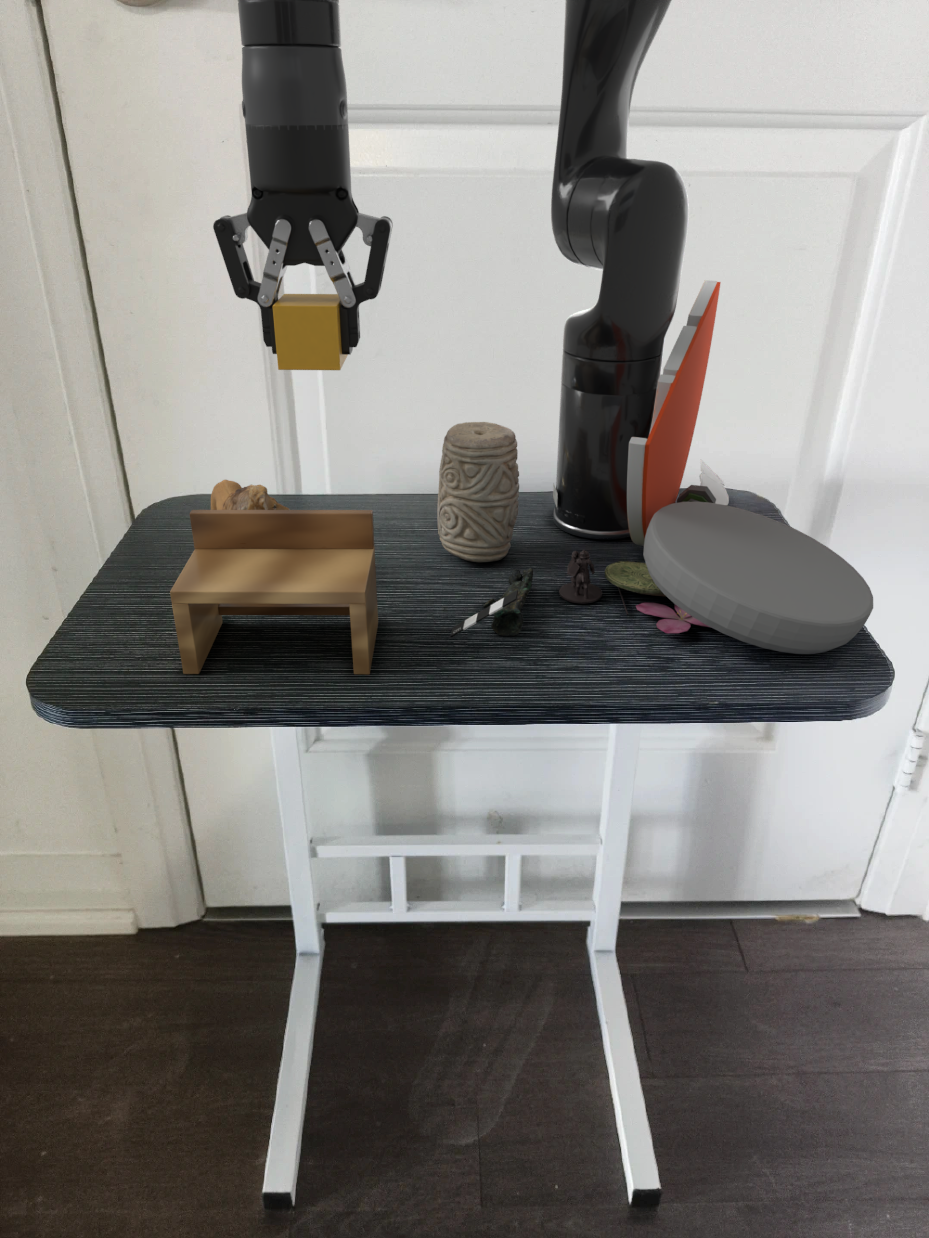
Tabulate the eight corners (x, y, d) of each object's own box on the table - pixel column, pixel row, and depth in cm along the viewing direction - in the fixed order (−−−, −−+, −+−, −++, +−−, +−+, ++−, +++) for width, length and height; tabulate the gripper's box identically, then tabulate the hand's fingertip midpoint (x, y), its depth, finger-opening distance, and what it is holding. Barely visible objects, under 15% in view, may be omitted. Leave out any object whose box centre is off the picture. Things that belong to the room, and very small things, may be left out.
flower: (651, 596, 84) (652, 586, 84) (742, 615, 81) (744, 605, 80) (618, 629, 78) (618, 619, 78) (716, 651, 74) (717, 640, 74)
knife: (725, 495, 108) (686, 472, 108) (746, 464, 106) (706, 441, 106) (698, 576, 89) (651, 549, 90) (723, 541, 87) (674, 513, 87)
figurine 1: (450, 636, 75) (470, 559, 85) (481, 672, 76) (498, 592, 86) (515, 598, 72) (528, 524, 82) (546, 636, 74) (556, 558, 84)
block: (278, 370, 77) (272, 305, 75) (288, 355, 82) (283, 293, 79) (340, 370, 77) (336, 306, 75) (347, 355, 82) (344, 294, 79)
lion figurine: (301, 582, 86) (292, 487, 81) (244, 597, 83) (232, 500, 79) (237, 527, 96) (227, 440, 92) (186, 539, 94) (172, 450, 90)
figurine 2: (614, 572, 87) (618, 531, 85) (629, 615, 80) (633, 571, 78) (554, 572, 87) (556, 531, 85) (563, 615, 80) (566, 571, 78)
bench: (183, 674, 72) (163, 553, 68) (208, 622, 79) (191, 509, 75) (369, 674, 72) (363, 553, 68) (378, 622, 79) (372, 509, 75)
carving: (525, 564, 89) (529, 438, 83) (445, 571, 87) (443, 444, 81) (508, 536, 94) (511, 416, 88) (432, 543, 93) (430, 421, 87)
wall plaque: (705, 277, 94) (628, 442, 74) (721, 279, 94) (648, 445, 74) (684, 439, 107) (615, 616, 87) (699, 441, 107) (632, 620, 87)
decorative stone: (629, 483, 83) (610, 534, 86) (685, 598, 68) (660, 655, 70) (821, 524, 87) (797, 571, 89) (916, 641, 71) (884, 694, 74)
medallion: (634, 598, 79) (635, 590, 79) (587, 566, 86) (588, 558, 85) (714, 597, 82) (716, 589, 82) (663, 566, 89) (664, 558, 88)
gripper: (397, 118, 74) (403, 342, 82) (212, 117, 74) (235, 341, 83) (389, 121, 68) (396, 364, 76) (185, 120, 68) (214, 363, 76)
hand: (312, 351), depth 79 cm, fingers closed on block, 5 cm apart
